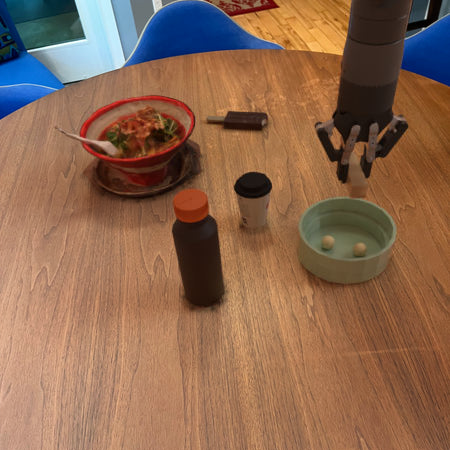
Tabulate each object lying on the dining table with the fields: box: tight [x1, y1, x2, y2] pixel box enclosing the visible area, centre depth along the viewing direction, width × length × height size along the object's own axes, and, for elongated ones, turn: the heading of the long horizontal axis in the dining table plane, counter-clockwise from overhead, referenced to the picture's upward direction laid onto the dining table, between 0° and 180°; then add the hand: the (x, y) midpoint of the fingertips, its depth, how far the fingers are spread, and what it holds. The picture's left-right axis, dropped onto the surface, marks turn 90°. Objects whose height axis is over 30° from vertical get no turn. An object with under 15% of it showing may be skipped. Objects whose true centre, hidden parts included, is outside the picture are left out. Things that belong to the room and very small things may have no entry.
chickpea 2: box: [353, 243, 367, 257], centre depth 83 cm, size 2×2×2 cm
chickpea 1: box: [321, 236, 335, 249], centre depth 85 cm, size 2×2×2 cm
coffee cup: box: [233, 171, 273, 230], centre depth 89 cm, size 7×7×10 cm
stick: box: [345, 151, 369, 199], centre depth 75 cm, size 2×9×2 cm, turn 3°
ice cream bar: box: [205, 110, 269, 131], centre depth 116 cm, size 5×2×15 cm
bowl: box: [296, 196, 398, 285], centre depth 83 cm, size 16×16×6 cm
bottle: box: [171, 188, 225, 308], centre depth 74 cm, size 7×7×20 cm
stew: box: [54, 94, 202, 200], centre depth 99 cm, size 28×24×16 cm
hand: (352, 179), depth 76 cm, fingers closed on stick, 2 cm apart
